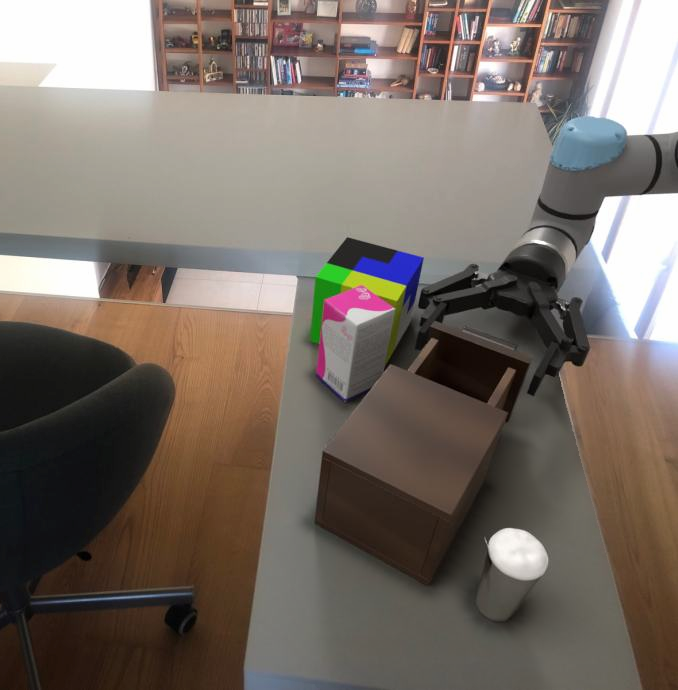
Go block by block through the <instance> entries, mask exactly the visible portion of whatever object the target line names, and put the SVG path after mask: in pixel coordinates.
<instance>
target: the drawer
mask: <svg viewBox="0 0 678 690" xmlns="http://www.w3.org/2000/svg"><path fill="white" fill-rule="evenodd" d="M517 349H518V344H515V343H513V342H510V341H507V340H505V339H502V338H499V337H496V336H493V335H491V334H489V333H485V332H482V331H480V330H478V329H475V328H471V327H469V326H466V325H465V326H463V328H462V329H458V328H456V327H453V326H450V325H447V324H445V323H443V322H442V323H439V322H437V321H434V322H433V324H432V325H431V326H430V330H429V335H428V339H427V343H426V345H425V346H424V348H423V349H422V350H421V351H420V353H419V354H418V355H417V357H416V358H415V360H414V361H413V362H412V364H411V365H410V366H409V368H408V369H407V370H406V371H409V372H411V373H414V374H416V375H419V376H421V377H423V378H426V379H428V380H431V381H433V382H436V383H438V384H440V385H443V386H445V387H448V388H450V389H453V390H455V391H457V392H460V393H462V394H465V395H467V396H469V397H472V398H474V399H477V400H479V401H482V402H484V403H486V404H489V405H491V406H494V407H496V408H499V409H501V410H503V411H506V412H508V415H507V418H506V420H505V424H506V423H509V421H510V420H511V417H512V415H513V412H514V409H515V406H516V404H517V401H518V399H519V396H520V393H521V391H522V388H523V386H524V382H525V380H526V377H527V374H528V372H529V369H530V366H531V363H532V361H533V358H534V356H531V355H528V354H525V353H523V352H520V351H518V350H517Z"/></svg>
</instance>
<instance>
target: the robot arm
mask: <svg viewBox="0 0 678 690" xmlns="http://www.w3.org/2000/svg"><path fill="white" fill-rule="evenodd" d="M666 194H667V195H668V194H669V195H670V194H678V131H674V132H669V133H668V132H667V133H653V134H628V132H627V129H626V127H624V125H622V124H621V123H619V122H618V121H615V120H613V119H611V118H610V119H609V118H606V117H595V116H592V115H587V116H585V115H584V116H579V117H575V118H571V119H569V120H568V121H567V122H566V123H565V124H564V125H563V126H562V127H561V129H560V132H559V134H558V136H557V137H556V141H555V143H554V145H553V148H552V150H551V153H550V156H549V162H548V165H547V169H546V173H545V176H544V180H543V183H542V187H541V190H540V193H539V195H538V198H537V200H536V202H535V203H536V204H535V206H534V210H533V213H532V216H531V218H530V222H529V224H528V226H527V228H526V230H525V231H524V232H523V234H522V235H521V237H520V238H519V239H518V241H517V242H516V244H515V245H514V246H513V247H512V248H511V250H510V252H509V253H508V255H507V256H506V257H505V259H504V260H503V262H501V264H500V266H499V267H498V268H497V270H496V271H495V272H491V273H490V274H487V273H485V272H481V271H479V268H480V266H479V265H478V264H477V263H470V264H468V265H467V267H466V268H465V269H464V270H462V271H460V272H458V273H455V274H454V275H450V276H448V277H445V278H444V279H441V280H439V281H436V282H434V283H432V284H430V285H428V286H425V287H422V288H421V290H420V295H419V299H418V304H417V308H419V310H423V312H422V313H421V315H420V320H419V329H418V330H417V335H416V340H415V345H414V350H416V351H418V352H421V351H422V350H423V349H424V347H425V346H426V343H427V339H428V335H429V330H430V326H431V325H432V324H433V322H434V321H437V322H439V323H442V324H443V322H444V318H445V317H446V316H449V315H453V314H458V313H459V314H460V313H463V312H467V311H472V310H475V309H482V310H491V309H494V308H496V309H498V310H500V311H505V312H510V313H511V314H513V315H516V316H518V317H522V318H523V316H524V317H525V319H526V320H527V321H528V324H529V325H530V327H534V329H535V331H536V333H537V334H538V336H539V338H540V339H541V341H542V343H543V344H544V346H545V348H546V352H545V353H544V354H543V355H544V356H543V357H542V358H541V361H540V362H539V364H538V365H537V368H536V370H535V372H534V373H533V376H532V378H531V380H530V383H529V386H528V389H527V392H526V394H527V395H529V396H531V397H535V395H536V393H537V392H538V389H539V388H540V385H541V384H542V382H543V381H544V379H545V376H546V375H547V376H549V377H552V378H556V377H558V376H559V374H560V371H561V369H562V367H563V365H564V364H565V363H567V362H570V363H571V364H572V365H573V366H575V367H578V368H579V367H583V366H584V363H585V361H586V360H587V357H588V355H589V352H590V350H591V345H590V342H589V338H588V334H587V331H586V327H585V323H584V320H583V316H582V312H581V307H582V305H583V301H584V300H583V299H581V298H580V297H576V296H574V297H572V298H571V299H570V300H567V299H563V298H559V295H558V294H559V291H560V289H561V288H562V286H563V284H564V283H565V281H566V280H567V277H568V276H569V275H570V272H571V271H572V269H573V267H574V265H575V263H576V262H577V260H578V258H579V256H580V255H581V253H582V251H583V250H584V248H585V247H586V246H587V245H588V244H589V242H590V240H591V239H592V236H593V234H594V231H595V227H596V223H597V221H596V220H597V217H598V214H599V212H600V209H601V207H602V205H603V203H604V200H605V198H610V197H629V196H645V195H666ZM554 309H555V310H556V311H557V312H558V315H559V319H560V320H561V321H562V327H561V325H560V324H559V321H558V320H557V318H556V317H555V315H554V314H553V312H552V311H553V310H554Z"/></svg>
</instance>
